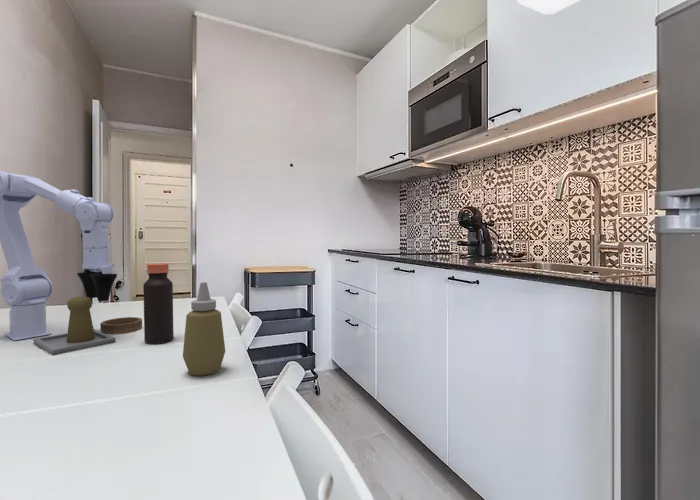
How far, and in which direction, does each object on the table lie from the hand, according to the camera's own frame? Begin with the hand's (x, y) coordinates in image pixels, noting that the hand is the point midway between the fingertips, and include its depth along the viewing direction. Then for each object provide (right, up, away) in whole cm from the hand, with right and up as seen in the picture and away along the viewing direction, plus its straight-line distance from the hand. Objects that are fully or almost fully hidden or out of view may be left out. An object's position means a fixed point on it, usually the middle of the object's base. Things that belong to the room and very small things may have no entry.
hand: (97, 299), depth 98 cm
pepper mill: (-2, -10, -3) cm, 11 cm away
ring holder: (+1, -10, +10) cm, 14 cm away
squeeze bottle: (+37, -12, -23) cm, 45 cm away
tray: (-3, -11, -4) cm, 12 cm away
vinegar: (+17, -11, -2) cm, 20 cm away
